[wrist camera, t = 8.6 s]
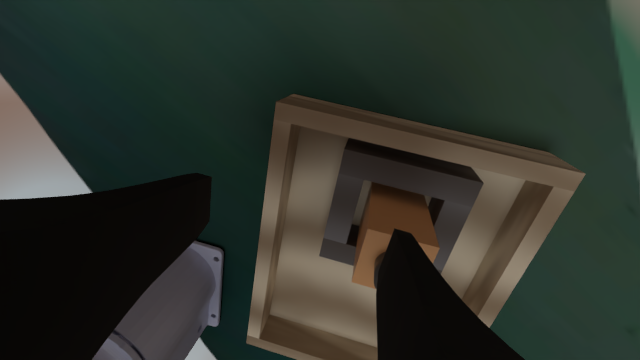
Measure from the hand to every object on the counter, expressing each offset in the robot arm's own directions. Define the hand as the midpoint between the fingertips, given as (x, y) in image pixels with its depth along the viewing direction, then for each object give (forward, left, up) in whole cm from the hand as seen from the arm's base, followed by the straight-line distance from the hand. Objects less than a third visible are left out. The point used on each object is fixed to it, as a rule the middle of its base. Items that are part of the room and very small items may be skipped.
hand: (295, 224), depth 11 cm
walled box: (-7, -5, -10) cm, 13 cm away
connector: (-3, -5, -9) cm, 10 cm away
